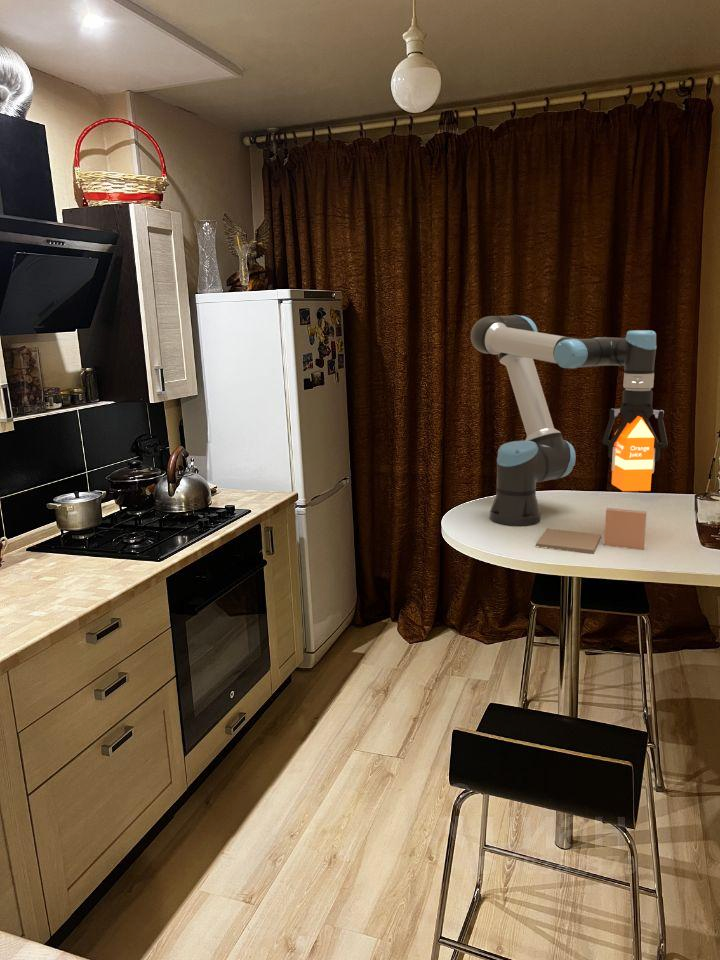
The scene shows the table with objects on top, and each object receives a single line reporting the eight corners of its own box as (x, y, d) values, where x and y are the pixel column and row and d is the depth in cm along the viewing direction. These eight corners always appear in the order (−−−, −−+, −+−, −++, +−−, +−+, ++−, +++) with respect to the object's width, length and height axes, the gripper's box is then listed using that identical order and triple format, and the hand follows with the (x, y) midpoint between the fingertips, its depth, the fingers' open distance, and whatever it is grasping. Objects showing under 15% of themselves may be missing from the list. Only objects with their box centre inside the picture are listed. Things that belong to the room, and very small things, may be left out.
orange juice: (622, 491, 197) (627, 417, 192) (610, 483, 205) (615, 413, 201) (651, 490, 197) (656, 417, 192) (638, 483, 205) (643, 412, 201)
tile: (603, 545, 197) (606, 509, 195) (604, 543, 199) (607, 507, 196) (643, 549, 193) (646, 513, 190) (644, 547, 194) (646, 511, 192)
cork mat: (535, 546, 196) (535, 543, 196) (546, 531, 209) (547, 528, 209) (593, 553, 190) (593, 550, 190) (601, 537, 203) (601, 534, 203)
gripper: (593, 389, 196) (589, 470, 201) (682, 391, 187) (675, 476, 192) (597, 386, 203) (593, 465, 208) (683, 388, 194) (676, 471, 199)
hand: (632, 471), depth 200 cm, fingers closed on orange juice, 9 cm apart
